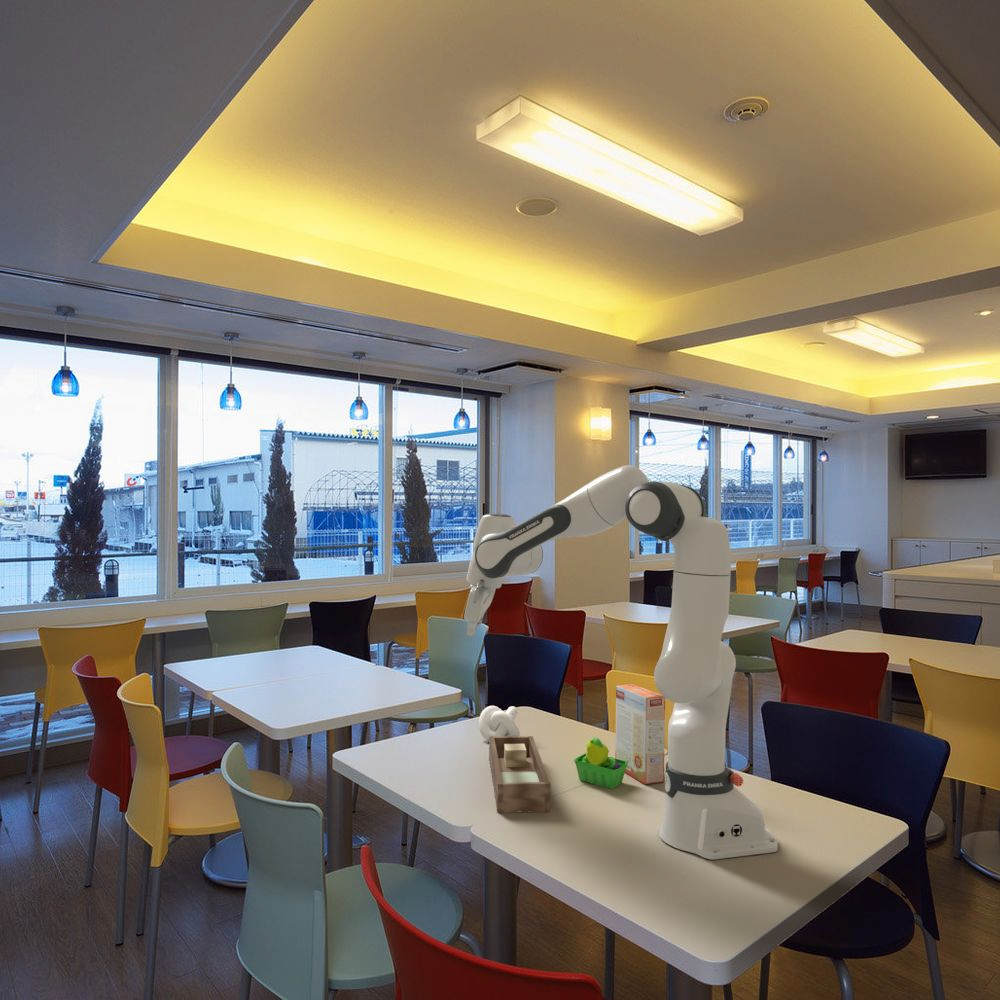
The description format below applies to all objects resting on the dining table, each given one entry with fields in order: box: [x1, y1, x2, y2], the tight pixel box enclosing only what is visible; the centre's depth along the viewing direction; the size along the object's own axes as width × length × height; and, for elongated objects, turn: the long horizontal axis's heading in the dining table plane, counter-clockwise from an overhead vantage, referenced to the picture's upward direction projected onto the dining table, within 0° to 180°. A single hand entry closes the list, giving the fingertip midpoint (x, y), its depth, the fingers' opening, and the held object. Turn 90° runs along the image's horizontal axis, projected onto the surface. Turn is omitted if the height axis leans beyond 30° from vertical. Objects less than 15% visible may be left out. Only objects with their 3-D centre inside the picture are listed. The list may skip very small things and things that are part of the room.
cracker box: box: [614, 683, 666, 785], centre depth 182 cm, size 14×6×21 cm, turn 22°
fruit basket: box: [573, 737, 628, 790], centre depth 176 cm, size 11×9×11 cm
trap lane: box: [488, 735, 551, 813], centre depth 174 cm, size 11×34×6 cm, turn 4°
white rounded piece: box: [478, 705, 521, 742], centre depth 209 cm, size 11×12×9 cm
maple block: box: [504, 744, 526, 767], centre depth 179 cm, size 5×5×4 cm
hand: (473, 630), depth 182 cm, fingers open, 8 cm apart
